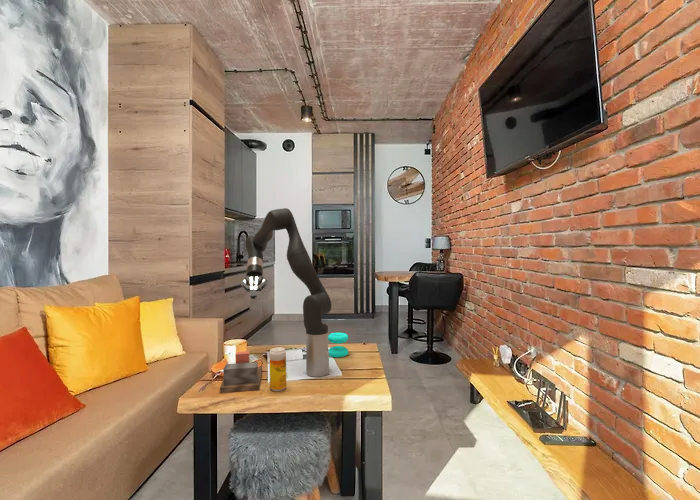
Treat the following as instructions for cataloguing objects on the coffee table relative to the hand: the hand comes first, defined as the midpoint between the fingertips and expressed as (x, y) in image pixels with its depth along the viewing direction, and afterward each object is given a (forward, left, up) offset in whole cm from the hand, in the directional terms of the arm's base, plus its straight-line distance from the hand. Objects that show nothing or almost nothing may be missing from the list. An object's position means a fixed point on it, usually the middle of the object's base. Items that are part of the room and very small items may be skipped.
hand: (253, 297), depth 167 cm
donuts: (-39, -4, -30) cm, 49 cm away
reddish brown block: (+3, +20, -28) cm, 34 cm away
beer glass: (-11, +31, -30) cm, 44 cm away
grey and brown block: (+3, +21, -30) cm, 37 cm away
